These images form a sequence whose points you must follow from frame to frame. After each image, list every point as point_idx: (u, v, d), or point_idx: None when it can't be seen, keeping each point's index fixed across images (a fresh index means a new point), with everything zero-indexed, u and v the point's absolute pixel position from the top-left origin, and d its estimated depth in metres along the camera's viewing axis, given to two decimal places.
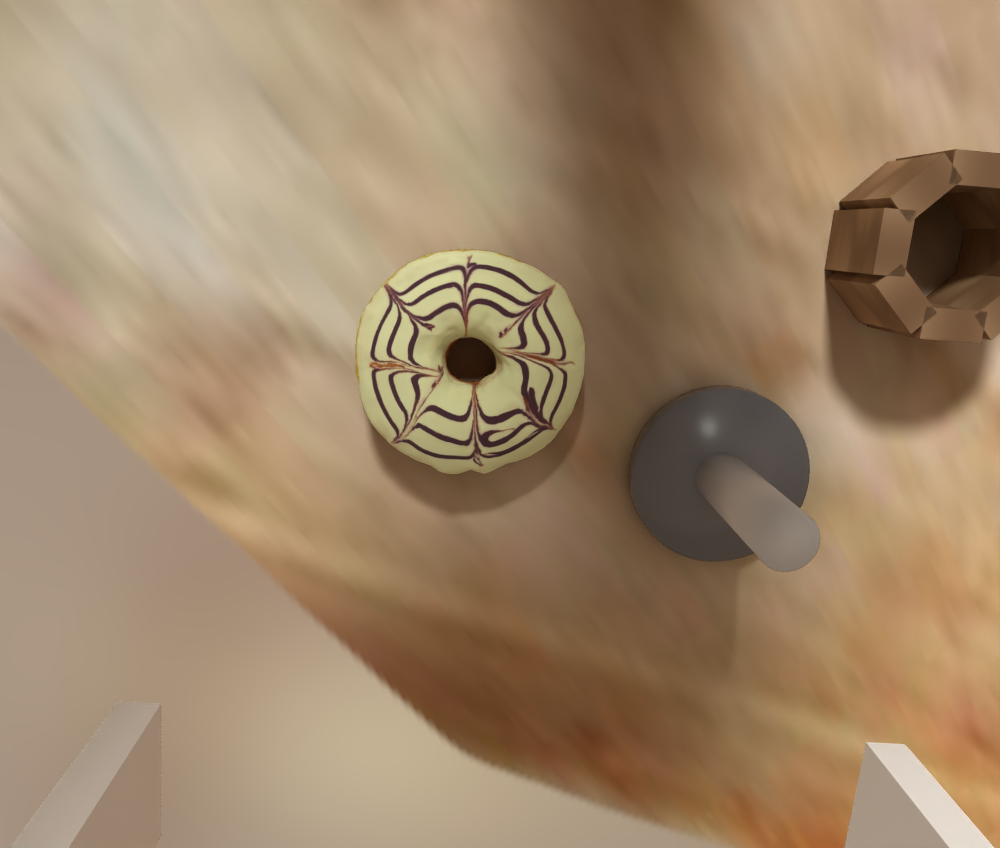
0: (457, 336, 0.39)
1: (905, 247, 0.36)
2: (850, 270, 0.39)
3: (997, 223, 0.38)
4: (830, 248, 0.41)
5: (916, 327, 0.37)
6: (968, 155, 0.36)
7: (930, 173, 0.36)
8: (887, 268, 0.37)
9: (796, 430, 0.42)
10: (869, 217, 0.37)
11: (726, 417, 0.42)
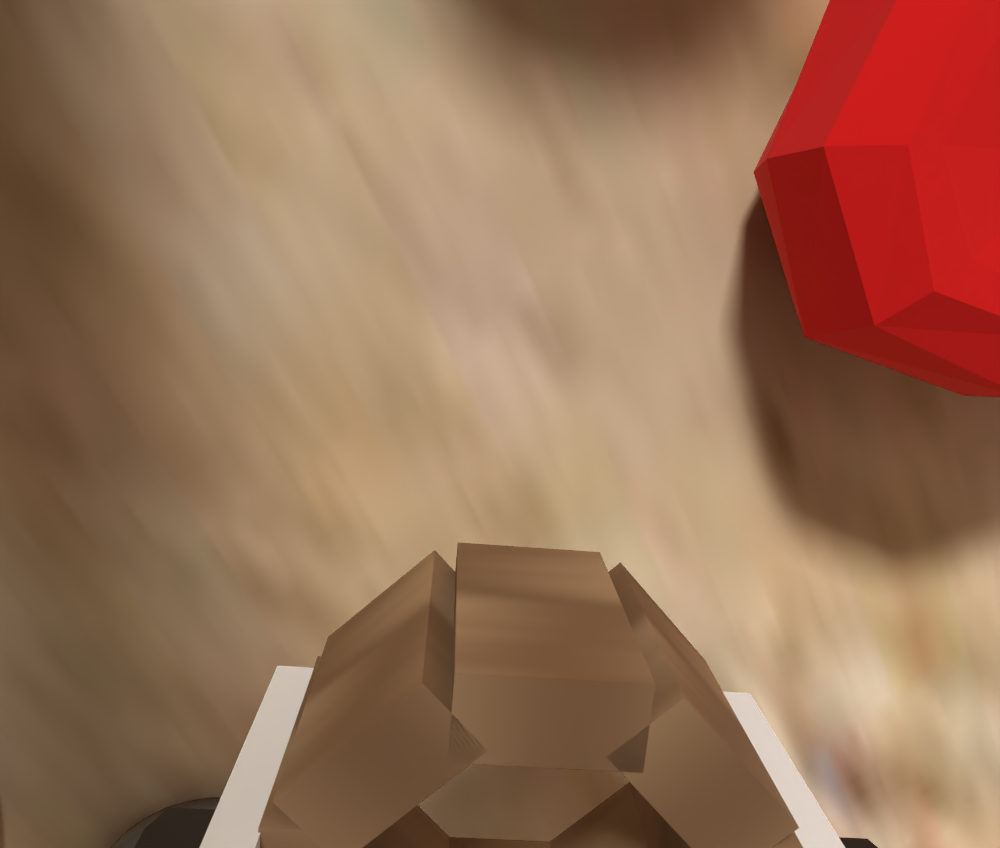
0: None
1: None
2: None
3: None
4: None
5: None
6: (496, 688, 0.12)
7: (387, 737, 0.12)
8: None
9: None
10: None
11: None
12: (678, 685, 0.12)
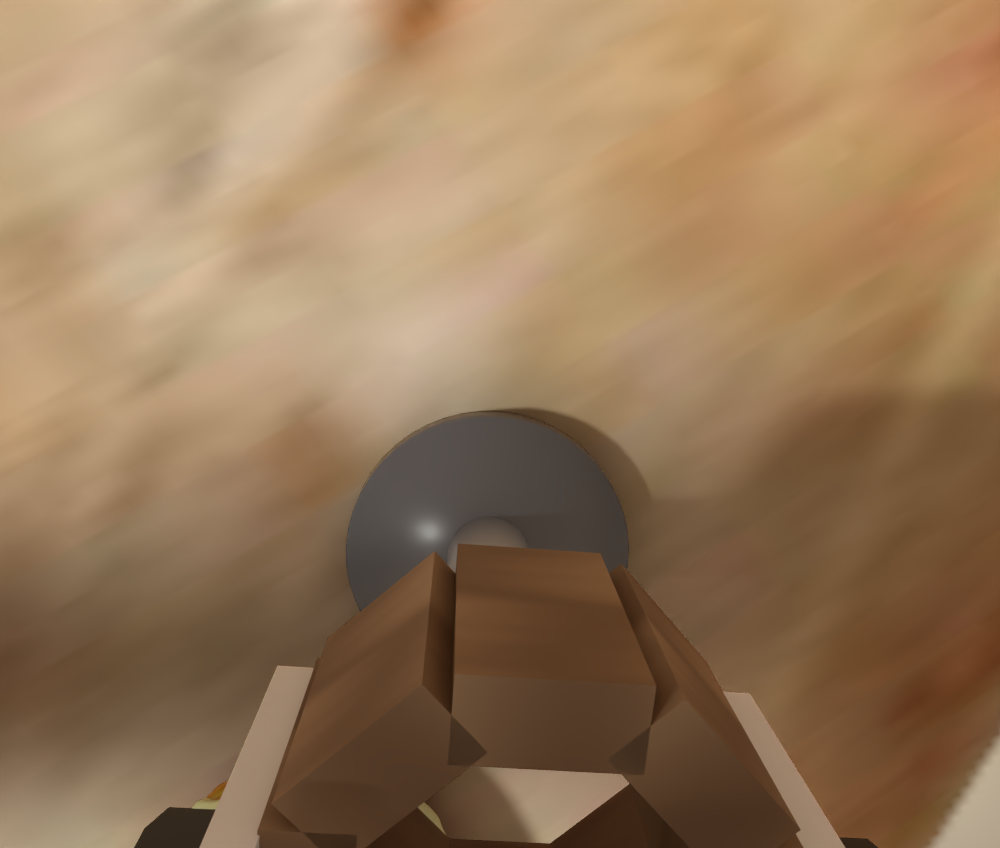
0: None
1: None
2: None
3: None
4: None
5: None
6: (496, 690, 0.12)
7: (387, 739, 0.12)
8: None
9: (411, 444, 0.26)
10: None
11: (391, 553, 0.27)
12: (679, 687, 0.12)
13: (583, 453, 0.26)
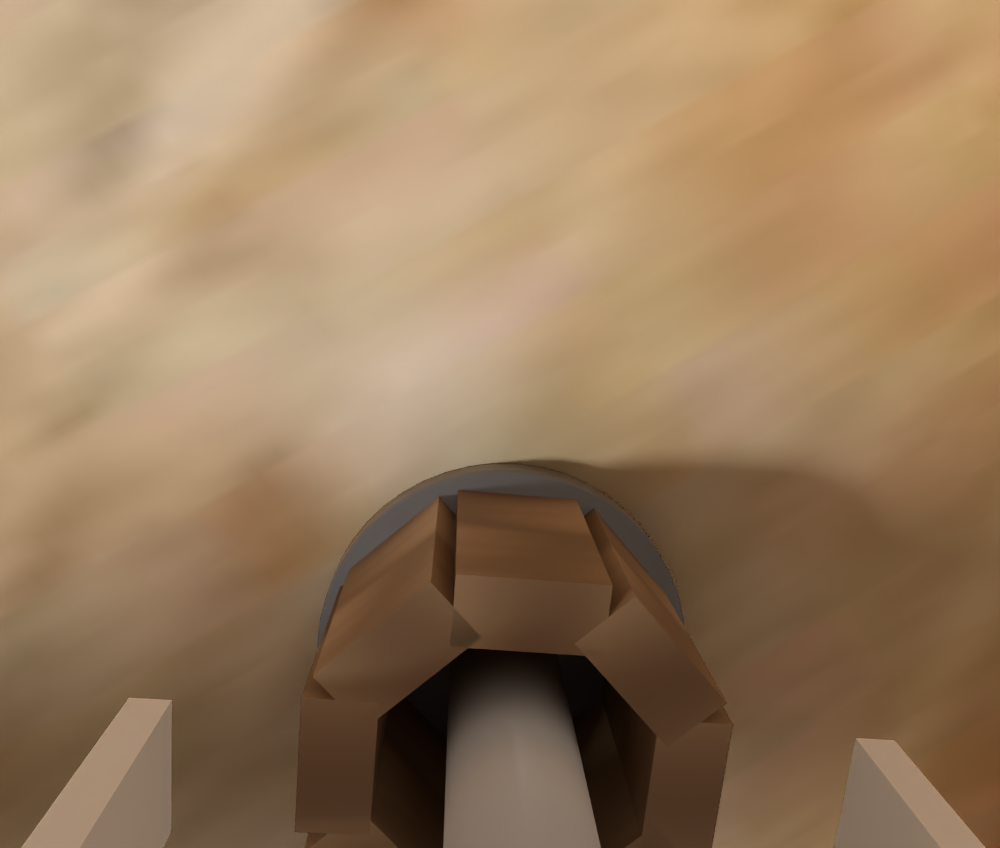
0: None
1: (363, 777, 0.16)
2: None
3: None
4: None
5: None
6: (488, 587, 0.15)
7: (403, 625, 0.15)
8: (326, 821, 0.16)
9: (402, 509, 0.20)
10: None
11: None
12: (631, 589, 0.16)
13: (627, 520, 0.20)
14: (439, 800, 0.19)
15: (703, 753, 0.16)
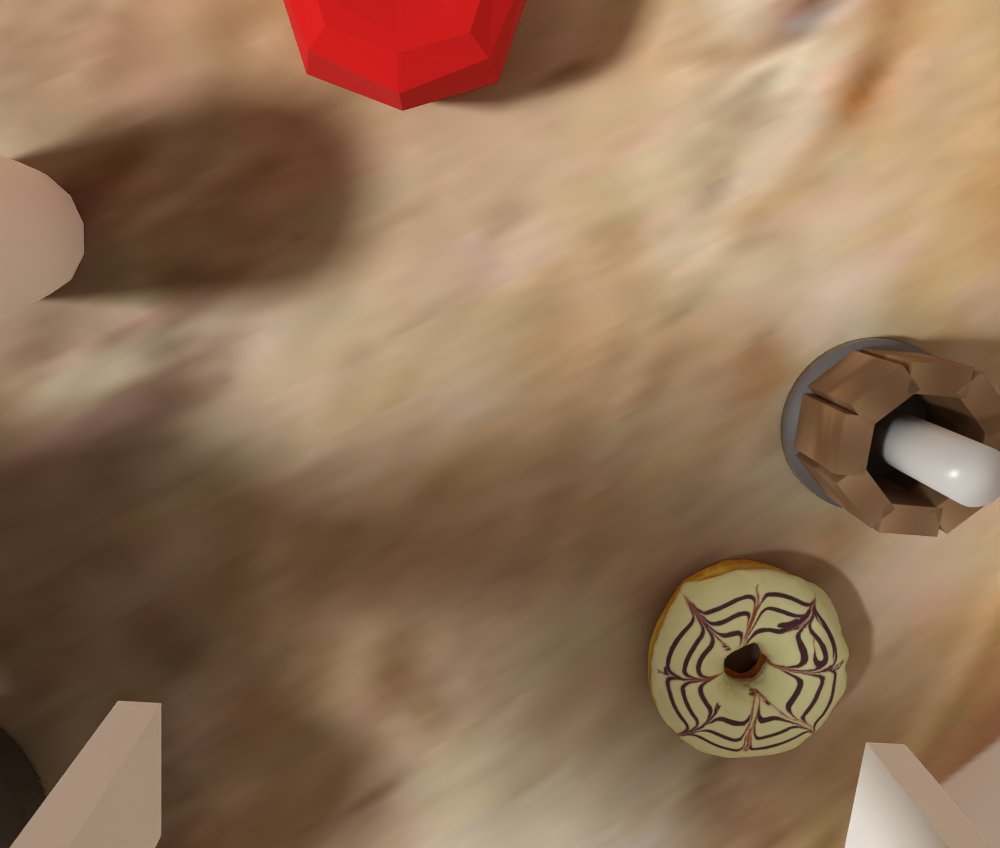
0: (723, 675, 0.45)
1: (865, 450, 0.38)
2: (815, 460, 0.41)
3: (955, 418, 0.41)
4: (799, 429, 0.43)
5: (876, 521, 0.39)
6: (925, 367, 0.38)
7: (890, 383, 0.38)
8: (848, 469, 0.39)
9: (835, 356, 0.43)
10: (832, 416, 0.39)
11: None
12: (977, 371, 0.38)
13: None
14: None
15: None
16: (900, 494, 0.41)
